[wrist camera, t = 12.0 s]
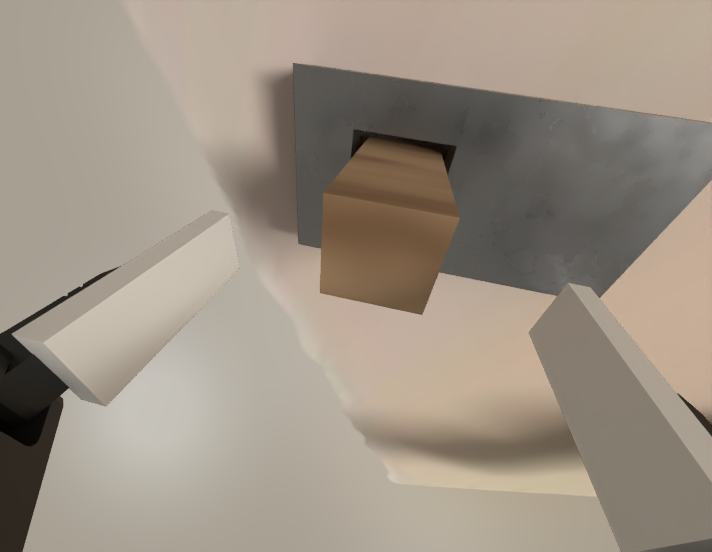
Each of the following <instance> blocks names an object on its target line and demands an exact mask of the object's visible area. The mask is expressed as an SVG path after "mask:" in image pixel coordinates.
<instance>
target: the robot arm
mask: <svg viewBox="0 0 712 552" xmlns="http://www.w3.org/2000/svg"><path fill="white" fill-rule="evenodd" d="M239 269H240V267H239V261H238V256H237V251H236V246H235V241H234V236H233V231H232V226H231V221H230V215H229V214H227V213H222V212H217V211H210V212H208V213H207V214H205V215H203V216H202V217H200V218H199V219H197V220H195V221H194V222H192V223H190V224H189V225H187V226H186V227H184V228H182V229H181V230H179V231H178V232H176V233H174V234H173V235H171V236H169V237H168V238H166V239H165V240H163V241H161V242H160V243H158V244H156V245H155V246H153V247H152V248H150V249H148V250H147V251H145V252H144V253H142V254H140V255H139V256H137V257H135V258H134V259H132V260H131V261H129V262H127V263H126V264H124V265H123V266H120V267H117V268H115V269H112V270H109V271H107V272H104V273H102V274H99V275H98V276H96V277H94V278H93V279H91V280H89V281H88V282H86V283H85V284H83V286H82V287H78V288H76V289H74V290H73V291H71V292H69V293H68V296H63V297H61V298H59V299H58V300H56V301H54V302H53V303H52V304H49V305H48V306H46V307H45V308H43V309H41V310H40V311H38V312H36V313H35V314H33V315H31V316H30V317H28V318H26V319H25V320H23V321H21V322H20V323H18V324H16V325H15V326H13V327H11V328H10V329H8V330H6V331H5V332H3V333H1V334H0V552H22V551H23V548H24V544H25V540H26V537H27V533H28V530H29V526H30V523H31V519H32V515H33V512H34V508H35V505H36V501H37V498H38V494H39V491H40V487H41V484H42V480H43V477H44V473H45V469H46V466H47V462H48V459H49V455H50V452H51V448H52V445H53V441H54V437H55V434H56V430H57V427H58V423H59V419H60V416H61V412H62V409H63V398H61V397H60V395H61V394H63V393H64V392H65V391H66V390H67V389H68V388H70V389H71V390H72V391H73V392H74V393H75V394H76V395H77V396H78V397H79V398H80V399H82V400H85V401H88V402H92V403H95V404H99V405H102V406H107V405H108V404H109V403H110V402H111V401H112V400H113V399H114V398H115V397H116V396H117V395H118V394H119V393H120V391H122V390H123V388H124V387H125V386H126V385H127V384H128V383H129V382H130V381H131V380H132V379H133V378H134V377H135V376H136V375H137V374H138V373H139V372H140V371H141V370H142V369H143V368H144V367H145V366H146V365H147V364H148V363H149V362H150V361H151V359H152V358H153V357H155V355H156V354H157V353H158V352H159V351H160V350H161V349H162V348H163V347H164V346H165V345H166V344H167V343H168V342H169V341H170V340H171V339H172V338H173V337H174V336H175V335H176V334H177V333H178V332H179V331H180V330H181V329H182V328H183V327H184V325H186V324H187V322H188V321H189V320H190V319H191V318H192V317H193V316H194V315H195V314H196V313H197V312H198V311H199V310H200V309H201V308H202V307H203V306H204V305H205V304H206V303H207V302H208V301H209V300H210V299H211V298H212V297H213V295H215V294H216V292H218V291H219V289H220V288H221V287H222V286H223V285H224V284H225V283H226V282H227V281H228V280H229V279H230V278H231V277H232V276H233V275H234V274H235V273H236V272H237V271H238V270H239ZM529 335H530V337H531V339H532V342H533V344H534V347H535V349H536V351H537V354H538V356H539V358H540V361H541V363H542V365H543V368H544V370H545V373H546V375H547V377H548V380H549V382H550V384H551V387H552V389H553V392H554V394H555V396H556V399H557V401H558V403H559V406H560V408H561V411H562V413H563V415H564V418H565V420H566V422H567V425H568V427H569V430H570V432H571V434H572V437H573V439H574V441H575V444H576V446H577V449H578V451H579V453H580V456H581V458H582V460H583V463H584V465H585V468H586V470H587V472H588V475H589V477H590V479H591V482H592V484H593V487H594V489H595V491H596V494H597V496H598V498H599V501H600V503H601V506H602V508H603V510H604V513H605V515H606V517H607V520H608V522H609V525H610V527H611V529H612V532H613V534H614V536H615V539H616V541H617V544H618V546H619V548H620V551H621V552H712V425H711V424H710V423H709V422H708V420H707V419H706V418H705V417H704V416H703V415H702V414H701V413H700V412H699V411H698V410H697V409H695V408H694V407H693V406H692V405H691V404H690V403H689V402H687V401H686V400H685V399H684V398H683V397H682V396H680V395H679V394H678V393H676V392H675V391H674V390H673V388H672V387H671V386H670V385H669V383H668V382H667V381H666V380H665V378H664V377H663V376H662V375H661V374H660V372H659V371H658V370H657V369H656V367H655V366H654V365H653V364H652V362H651V361H650V360H649V359H648V358H647V356H646V355H645V354H644V353H643V351H642V350H641V349H640V348H639V346H638V345H637V344H636V343H635V342H634V340H633V339H632V338H631V337H630V335H629V334H628V333H627V332H626V330H625V329H624V328H623V327H622V326H621V324H620V323H619V322H618V321H617V319H616V318H615V317H614V316H613V314H612V313H611V312H610V311H609V310H608V308H607V307H606V306H605V305H604V303H603V302H602V301H601V300H600V298H599V297H598V296H597V295H596V294H595V292H594V291H593V290H592V289H591V287H586V286H582V285H577V284H572V283H567V285H566V286H565V287H564V289H563V290H562V291H561V292H560V294H559V295H558V296H557V297H556V299H555V300H554V301H553V302H552V304H551V305H550V306H549V307H548V309H547V310H546V311H545V313H544V314H543V315H542V316H541V318H540V319H539V320H538V321H537V323H536V324H535V325H534V326H533V328H532V329H531V330H530V331H529Z"/></svg>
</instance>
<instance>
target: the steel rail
mask: <svg viewBox="0 0 712 552" xmlns="http://www.w3.org/2000/svg"><path fill="white" fill-rule="evenodd" d="M293 76H294V110H295V144H296V177H297V211H298V244H301V245H306V246H311V247H316V248H321V245H322V216H323V193H324V191H325V190H326V189H327V188H328V187H329V185H330V184H331V183H332V182H333V180H334V179H335V178H336V177H337V175H338V174H339V173H340V172H341V171H342V169H343V168H344V167H345V166H346V164H347V163H348V162H349V161H350V160H351V158H352V157H353V156H354V155H355V153H356V152H357V151H358V150H359V142H360V133H361V131H367V132H373V133H379V134H385V135H391V136H398V137H404V138H410V139H416V140H422V141H429V142H435V143H441V144H447V145H450V146H449V149H448V153H447V156H446V159H445V162H444V165H445V168H446V171H447V175H448V178H449V182H450V185H451V189H452V192H453V196H454V199H455V202H456V206H457V209H458V213H459V216H460V219H459V222H458V224H457V227H456V230H455V232H454V235H453V237H452V240H451V242H450V245H449V248H448V250H447V253H446V255H445V258H444V260H443V263H442V265H441V268H440V271H439V272H441V273H446V274H451V275H456V276H461V277H466V278H471V279H476V280H481V281H486V282H491V283H496V284H501V285H506V286H511V287H515V288H520V289H525V290H530V291H535V292H540V293H545V294H550V295H555V296H558V295H559V294H560V292H561V291H562V290H563V289H564V287H565V286H566V285H567V283H572V284H577V285H582V286H586V287H591V289H592V290H593V291H594V292H595V294H596V295H597V296H598V297H599V298H600V297H601V296H602V295H603V294H604V293H605V292H606V291H607V290H608V289H609V288H610V286H611V285H612V284H613V283H614V282H615V281H616V280H617V279H618V278H619V277H620V276H621V275H622V274H623V273H624V272H625V271H626V270H627V269H628V267H629V266H630V265H631V264H632V263H633V262H634V261H635V260H636V259H637V258H638V257H639V256H640V255H641V254H642V253H643V252H644V251H645V250H646V248H647V247H648V246H649V245H650V244H651V243H652V242H653V241H654V240H655V239H656V238H657V237H658V236H659V235H660V234H661V233H662V232H663V231H664V229H665V228H666V227H667V226H668V225H669V224H670V223H671V222H672V221H673V220H674V219H675V218H676V217H677V216H678V215H679V214H680V213H681V212H682V210H683V209H684V208H685V207H686V206H687V205H688V204H689V203H690V202H691V201H692V200H693V199H694V198H695V197H696V196H697V195H698V194H699V193H700V191H701V190H702V189H703V188H704V187H705V186H706V185H707V184H708V183H709V182H710V181H711V180H712V123H710V122H704V121H697V120H690V119H683V118H676V117H669V116H662V115H655V114H648V113H641V112H634V111H627V110H620V109H613V108H606V107H599V106H593V105H586V104H579V103H572V102H565V101H558V100H551V99H544V98H537V97H530V96H523V95H516V94H509V93H502V92H495V91H488V90H481V89H474V88H468V87H461V86H454V85H447V84H440V83H433V82H426V81H419V80H412V79H405V78H398V77H391V76H384V75H377V74H370V73H363V72H356V71H350V70H343V69H336V68H329V67H322V66H315V65H307V64H297V63H293Z"/></svg>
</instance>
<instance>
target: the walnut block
mask: <svg viewBox="0 0 712 552" xmlns="http://www.w3.org/2000/svg"><path fill="white" fill-rule="evenodd" d="M459 219H460V216H459V213H458V209H457V206H456V202H455V199H454V196H453V192H452V189H451V185H450V182H449V178H448V175H447V171H446V168H445V165H444V161H443V158H442V154H441V151H440V147H439V146H433V145H427V144H421V143H415V142H409V141H403V140H397V139H390V138H384V137H378V136H372V135H370V136H369V137H368V139H367V140H366V141H365V142H364V144H363V145H362V146H361V147H360V148H359V150H358V151H357V152H356V153H355V155H354V156H353V157H352V158H351V160H350V161H349V162H348V163H347V164H346V166H345V167H344V168H343V169H342V171H341V172H340V173H339V174H338V175H337V177H336V178H335V179H334V180H333V182H332V183H331V184H330V185H329V187H328V188H327V189H326V190H325V191H324V193H323V216H322V245H321V275H320V293H323V294H327V295H332V296H337V297H341V298H346V299H351V300H355V301H360V302H365V303H369V304H374V305H378V306H383V307H388V308H392V309H397V310H402V311H406V312H411V313H416V314H420V315H422V314H423V312H424V309H425V306H426V304H427V301H428V299H429V296H430V294H431V291H432V289H433V286H434V283H435V281H436V278H437V276H438V273H439V271H440V268H441V265H442V263H443V260H444V258H445V255H446V253H447V250H448V248H449V245H450V242H451V240H452V237H453V235H454V232H455V230H456V227H457V224H458V222H459Z"/></svg>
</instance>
